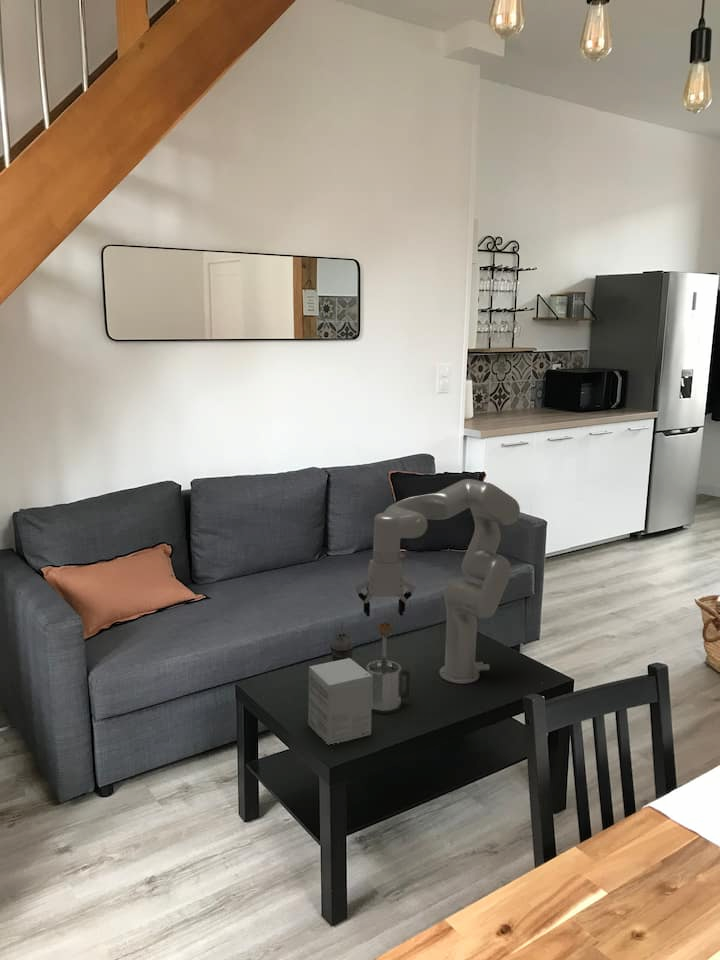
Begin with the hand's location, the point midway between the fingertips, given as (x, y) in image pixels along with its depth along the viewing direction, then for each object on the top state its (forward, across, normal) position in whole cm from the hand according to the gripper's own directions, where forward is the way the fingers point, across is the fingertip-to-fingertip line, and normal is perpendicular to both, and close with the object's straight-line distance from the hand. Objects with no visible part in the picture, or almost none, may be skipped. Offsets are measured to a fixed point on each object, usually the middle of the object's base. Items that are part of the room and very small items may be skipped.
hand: (384, 614), depth 222 cm
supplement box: (+29, +14, +12) cm, 34 cm away
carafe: (+28, -2, -1) cm, 28 cm away
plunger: (+19, -1, 0) cm, 19 cm away
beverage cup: (+28, +9, -18) cm, 35 cm away
